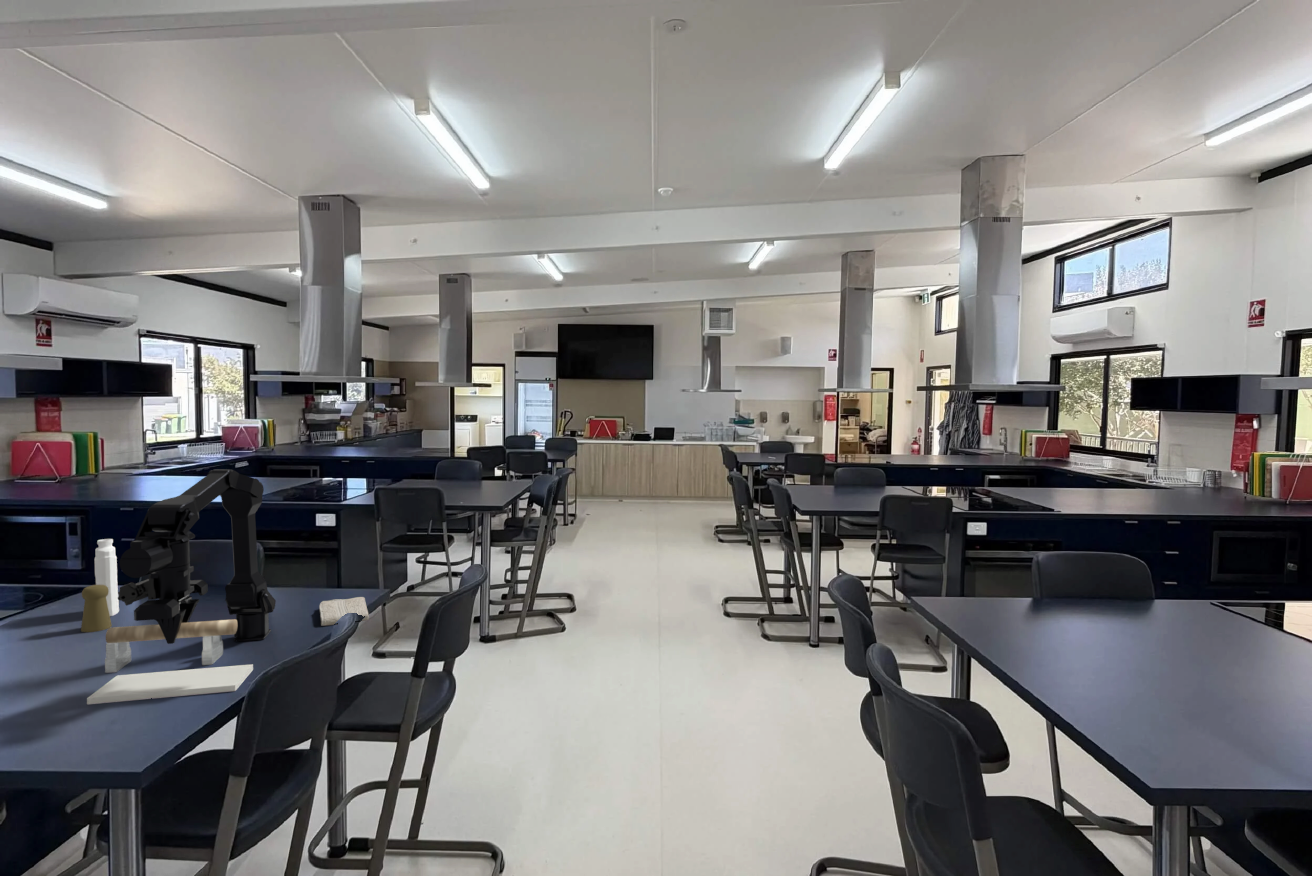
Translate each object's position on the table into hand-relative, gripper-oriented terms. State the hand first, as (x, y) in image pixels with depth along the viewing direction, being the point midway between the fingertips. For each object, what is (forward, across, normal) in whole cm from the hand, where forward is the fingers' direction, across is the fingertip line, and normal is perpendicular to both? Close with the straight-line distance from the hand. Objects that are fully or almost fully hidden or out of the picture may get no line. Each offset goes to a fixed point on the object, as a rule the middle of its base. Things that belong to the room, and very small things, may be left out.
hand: (174, 640), depth 134 cm
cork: (+10, -44, -34) cm, 56 cm away
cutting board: (+9, 0, 0) cm, 9 cm away
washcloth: (+10, -42, +24) cm, 50 cm away
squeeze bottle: (+10, -58, -38) cm, 70 cm away
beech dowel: (-2, 0, 0) cm, 2 cm away
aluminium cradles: (+9, -14, -7) cm, 18 cm away
